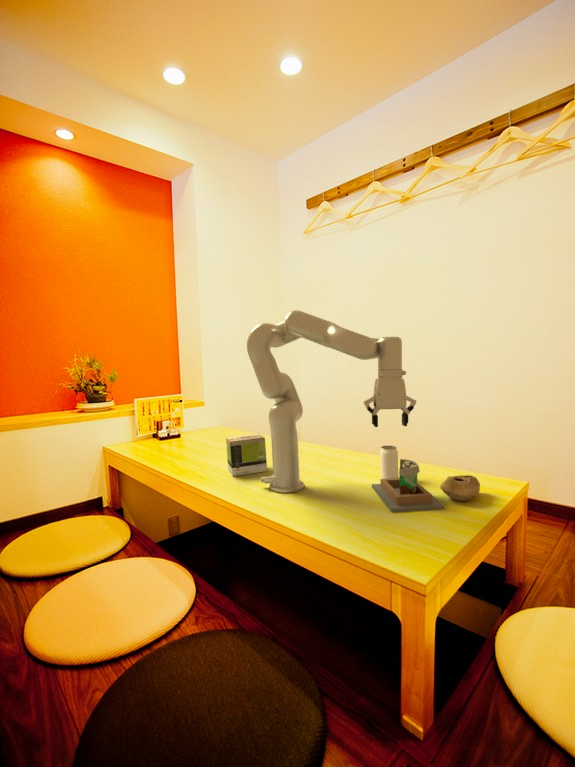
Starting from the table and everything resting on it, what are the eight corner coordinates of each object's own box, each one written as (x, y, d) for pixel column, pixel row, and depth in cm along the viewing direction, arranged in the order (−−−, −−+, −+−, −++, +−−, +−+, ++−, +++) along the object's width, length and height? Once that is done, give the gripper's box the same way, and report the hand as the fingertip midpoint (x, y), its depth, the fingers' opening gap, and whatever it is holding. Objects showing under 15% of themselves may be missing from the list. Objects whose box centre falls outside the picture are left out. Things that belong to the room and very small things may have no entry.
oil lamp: (488, 494, 121) (487, 470, 121) (470, 508, 111) (469, 482, 110) (453, 487, 129) (453, 464, 129) (434, 499, 119) (433, 475, 118)
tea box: (261, 465, 166) (259, 433, 165) (267, 472, 156) (265, 437, 155) (227, 470, 161) (225, 436, 160) (231, 477, 152) (229, 441, 151)
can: (399, 481, 137) (398, 449, 136) (381, 481, 138) (380, 449, 138) (397, 476, 143) (396, 445, 143) (380, 475, 145) (379, 445, 144)
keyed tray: (391, 512, 111) (391, 500, 110) (371, 487, 133) (371, 477, 132) (444, 508, 111) (444, 497, 111) (416, 484, 133) (415, 474, 133)
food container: (420, 502, 115) (420, 470, 114) (400, 500, 117) (399, 469, 116) (419, 488, 126) (419, 459, 126) (400, 487, 128) (400, 458, 128)
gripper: (411, 373, 127) (411, 423, 128) (361, 374, 126) (361, 424, 127) (420, 374, 119) (420, 427, 120) (366, 375, 119) (366, 429, 120)
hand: (390, 426), depth 124 cm, fingers open, 9 cm apart
